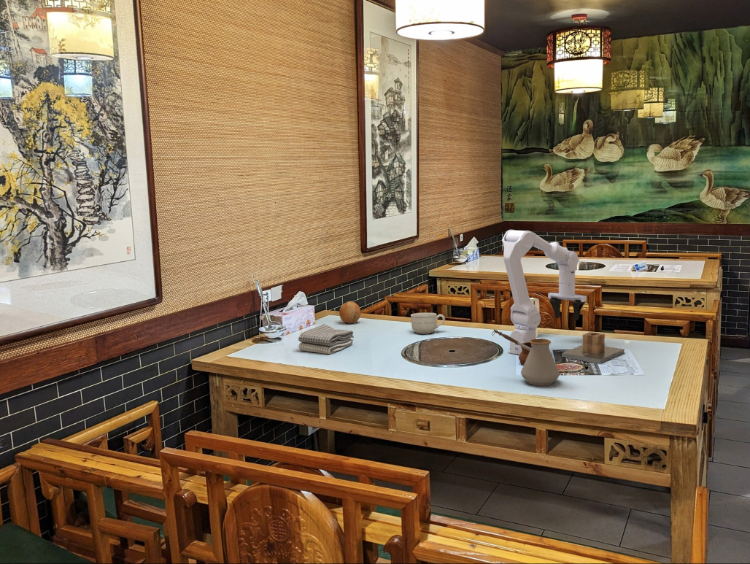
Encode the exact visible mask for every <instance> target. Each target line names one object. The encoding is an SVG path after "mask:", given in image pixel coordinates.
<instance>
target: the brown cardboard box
mask: <svg viewBox="0 0 750 564" xmlns="http://www.w3.org/2000/svg"><path fill="white" fill-rule="evenodd" d="M605 336H606V334H605V333H601V332H593V331H590V332H589V331H588V332H587V333H584V334H582V345H583V352H589V353H595V354H598V353H600V352H603V351H605V346H606V345H605V344H606V343H605V342H606V340H605V338H606V337H605Z"/></svg>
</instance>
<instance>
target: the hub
mask: <svg viewBox="0 0 750 564" xmlns="http://www.w3.org/2000/svg"><path fill="white" fill-rule="evenodd" d="M623 353H624V354H625V349H624V348H619V347H613V346H606V345H605V351H603V352H600V353H598V354H595V353H589V352H583V344H582V345H580V346H577V347H574V348H572V349H569V350H566V351H564V352H562V353H561V358H563V357H565V359H569V358H571V359H570V360H575V359H577V360H576V361H580V360H583V362H588V363H593V364H598V365H601V364H602V363H605V362H607V361H610V360H612V359H615V358H617V357H619V356H621V354H622V355H624V354H623ZM614 357H615V358H614Z"/></svg>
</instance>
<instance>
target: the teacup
mask: <svg viewBox="0 0 750 564" xmlns="http://www.w3.org/2000/svg"><path fill="white" fill-rule="evenodd" d="M440 317H441V318H442V320H441V322H440V323H437V321H438V319H439V318H440ZM445 320H446V317H445V316H444V315H443V314H440V313H439V314H438V315H437V313H434V312H417V313H412V314H410V321H411V323H410V324H411V329H412V330H413V331H414V332H415V333H416V334H422V335H423V334H425V335H426V334H433V332H434V331H435V330H437V329H438V328H439V327H440V326H441V325H443V324H444V323H445Z"/></svg>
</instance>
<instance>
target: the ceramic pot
mask: <svg viewBox="0 0 750 564" xmlns="http://www.w3.org/2000/svg"><path fill="white" fill-rule="evenodd" d="M522 344H524V345H526V346H528V347H530V348H532V346H531V343H530V342H525V343H522ZM521 348H522V352H521V353H520V355H519V354H518V361H519V363H520V365H521V366H524V363H525V361H526V359H527V357H528V354H529V352H530V351H529V350H527V349H525V348H523V347H522V346H521ZM557 365H558V366H560V364H559V363H557ZM558 366H557V367H558Z"/></svg>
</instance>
